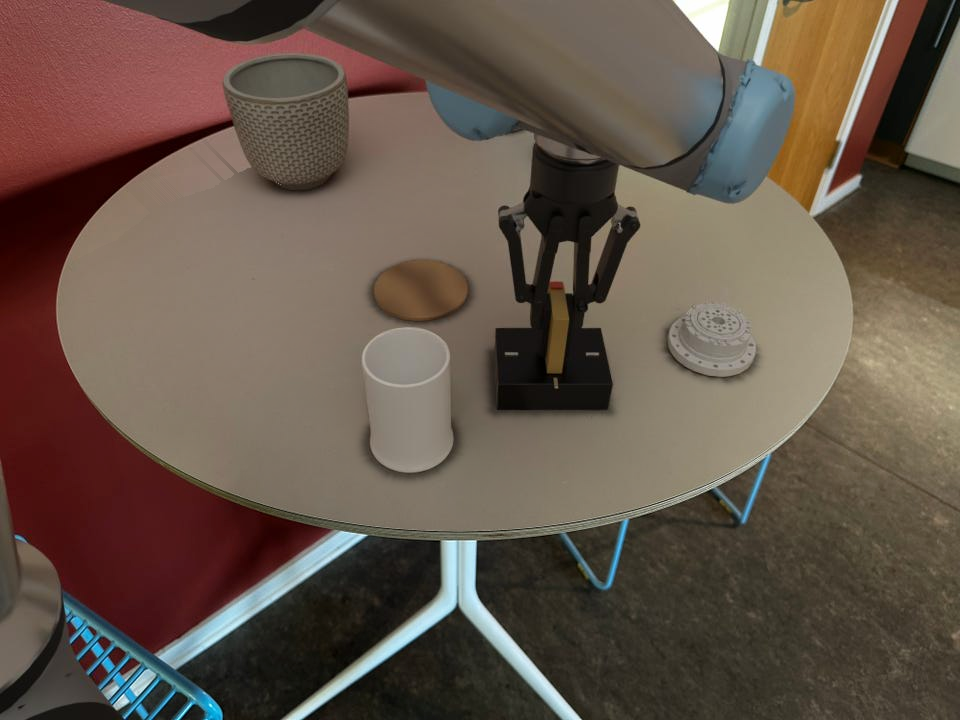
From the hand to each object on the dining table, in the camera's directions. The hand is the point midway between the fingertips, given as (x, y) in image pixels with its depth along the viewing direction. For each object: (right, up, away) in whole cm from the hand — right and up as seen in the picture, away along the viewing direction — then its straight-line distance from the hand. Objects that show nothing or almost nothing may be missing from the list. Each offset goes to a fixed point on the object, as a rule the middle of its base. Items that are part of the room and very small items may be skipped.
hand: (552, 348), depth 76 cm
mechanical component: (+19, 0, +8) cm, 21 cm away
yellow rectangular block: (0, -1, +1) cm, 1 cm away
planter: (-36, +27, +35) cm, 57 cm away
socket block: (0, -4, +3) cm, 5 cm away
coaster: (-15, +8, +15) cm, 23 cm away
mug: (-15, -9, -2) cm, 17 cm away
